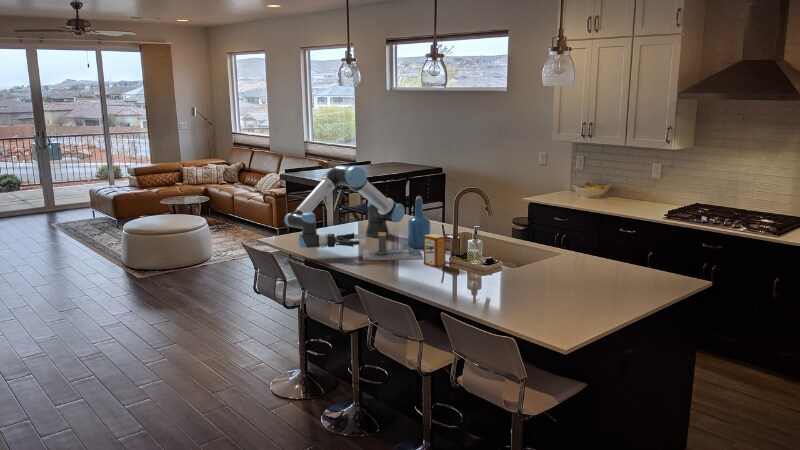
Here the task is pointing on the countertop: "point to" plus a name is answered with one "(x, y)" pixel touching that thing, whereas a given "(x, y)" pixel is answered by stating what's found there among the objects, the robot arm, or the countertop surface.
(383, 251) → the breaker handle
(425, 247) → the baking soda box
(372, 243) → the countertop surface
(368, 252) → the panel
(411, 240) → the wine bottle
